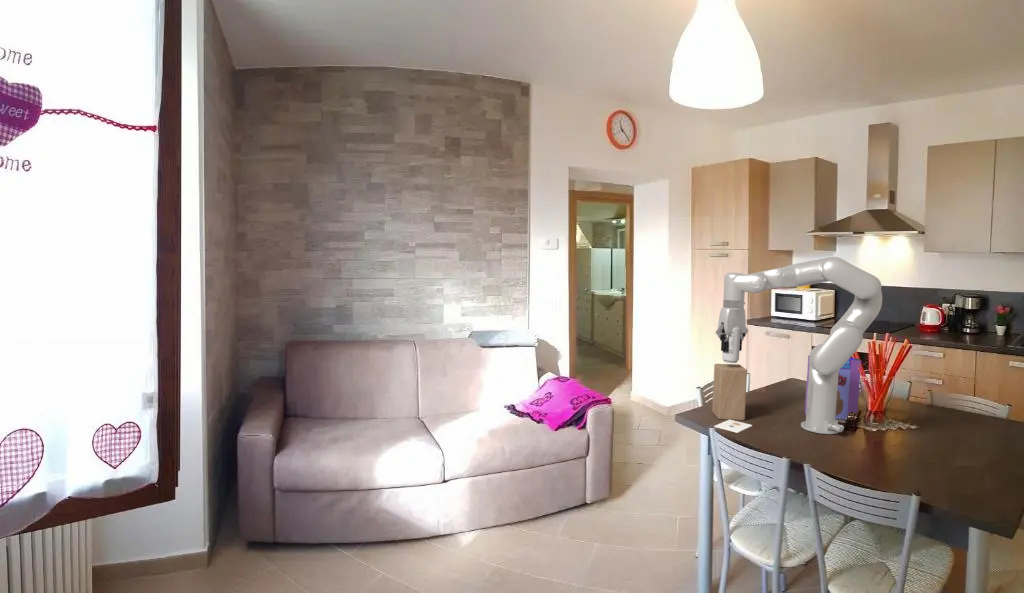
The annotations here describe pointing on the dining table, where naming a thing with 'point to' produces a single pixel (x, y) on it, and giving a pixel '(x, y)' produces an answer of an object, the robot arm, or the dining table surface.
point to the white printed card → (733, 426)
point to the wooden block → (729, 391)
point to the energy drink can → (733, 347)
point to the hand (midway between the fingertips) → (731, 350)
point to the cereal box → (845, 388)
